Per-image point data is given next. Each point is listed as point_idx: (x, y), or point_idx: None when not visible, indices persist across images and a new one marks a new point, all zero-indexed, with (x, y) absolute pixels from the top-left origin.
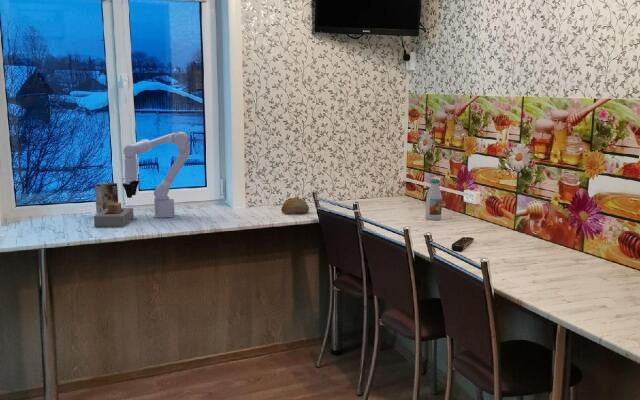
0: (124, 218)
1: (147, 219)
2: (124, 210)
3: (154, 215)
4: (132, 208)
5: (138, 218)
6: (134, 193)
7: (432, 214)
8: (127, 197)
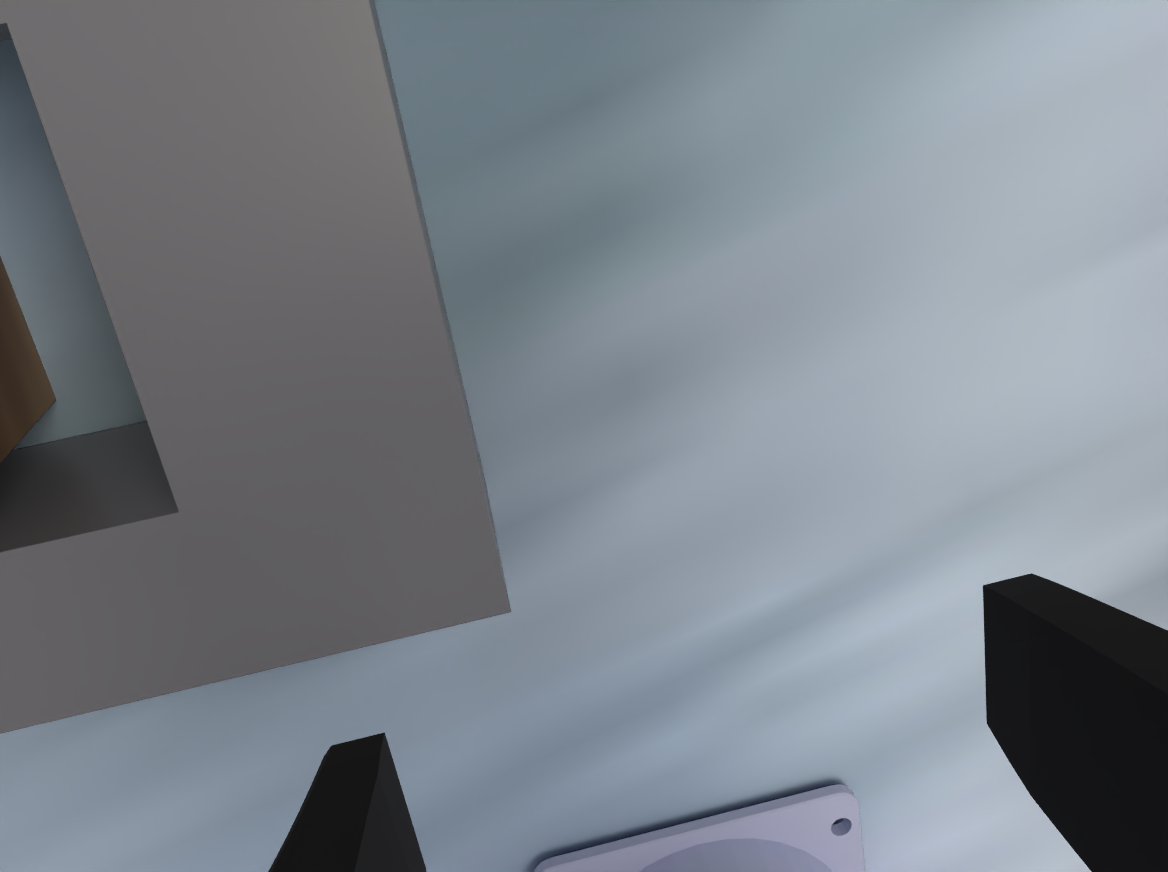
0: None
1: None
2: (55, 564)
3: (660, 849)
4: (422, 631)
5: None
6: (1022, 750)
7: None
8: (325, 766)
